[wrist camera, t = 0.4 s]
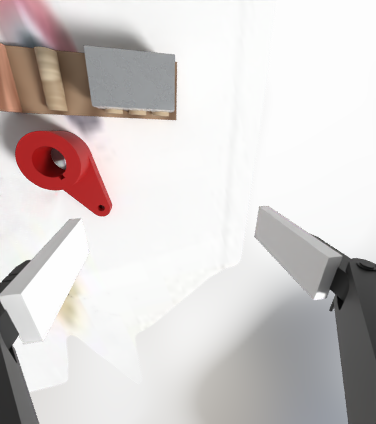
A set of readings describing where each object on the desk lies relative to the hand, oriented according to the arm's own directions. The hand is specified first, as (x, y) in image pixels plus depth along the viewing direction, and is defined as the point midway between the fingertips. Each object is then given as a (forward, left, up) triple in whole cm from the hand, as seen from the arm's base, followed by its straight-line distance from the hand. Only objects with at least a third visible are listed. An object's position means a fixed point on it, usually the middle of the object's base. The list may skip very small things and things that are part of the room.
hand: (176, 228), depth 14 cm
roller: (-17, +13, -28) cm, 35 cm away
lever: (-16, -3, -29) cm, 33 cm away
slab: (-4, +13, -25) cm, 28 cm away
